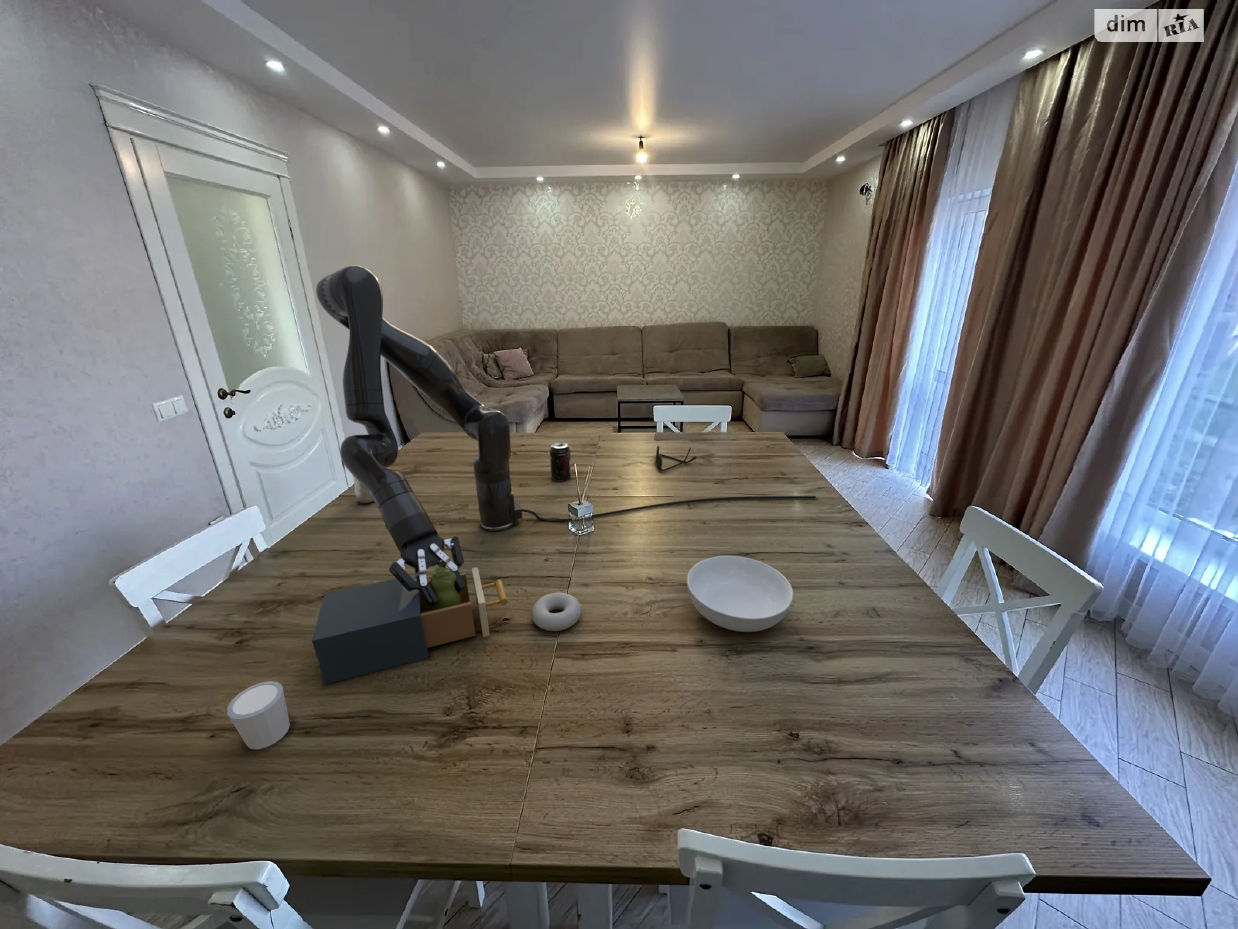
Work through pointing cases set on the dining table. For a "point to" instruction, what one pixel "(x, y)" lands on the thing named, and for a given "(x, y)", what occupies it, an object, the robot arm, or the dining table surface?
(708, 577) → the serving bowl
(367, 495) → the plastic bottle
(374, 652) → the cabinet
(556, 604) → the donut
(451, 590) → the pear
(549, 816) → the dining table surface
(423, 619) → the drawer
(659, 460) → the sunglasses
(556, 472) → the beverage can
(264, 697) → the white tapered tub
